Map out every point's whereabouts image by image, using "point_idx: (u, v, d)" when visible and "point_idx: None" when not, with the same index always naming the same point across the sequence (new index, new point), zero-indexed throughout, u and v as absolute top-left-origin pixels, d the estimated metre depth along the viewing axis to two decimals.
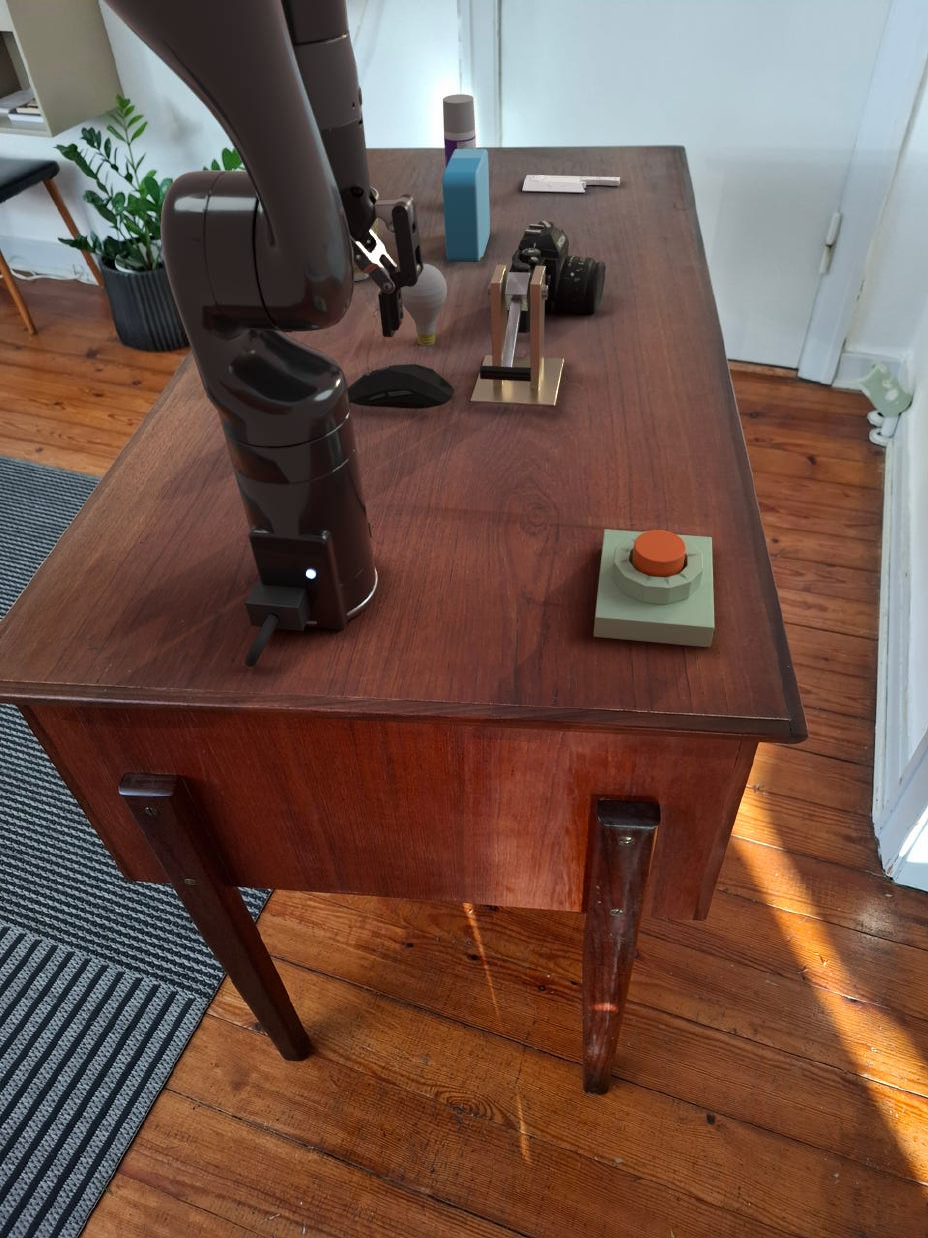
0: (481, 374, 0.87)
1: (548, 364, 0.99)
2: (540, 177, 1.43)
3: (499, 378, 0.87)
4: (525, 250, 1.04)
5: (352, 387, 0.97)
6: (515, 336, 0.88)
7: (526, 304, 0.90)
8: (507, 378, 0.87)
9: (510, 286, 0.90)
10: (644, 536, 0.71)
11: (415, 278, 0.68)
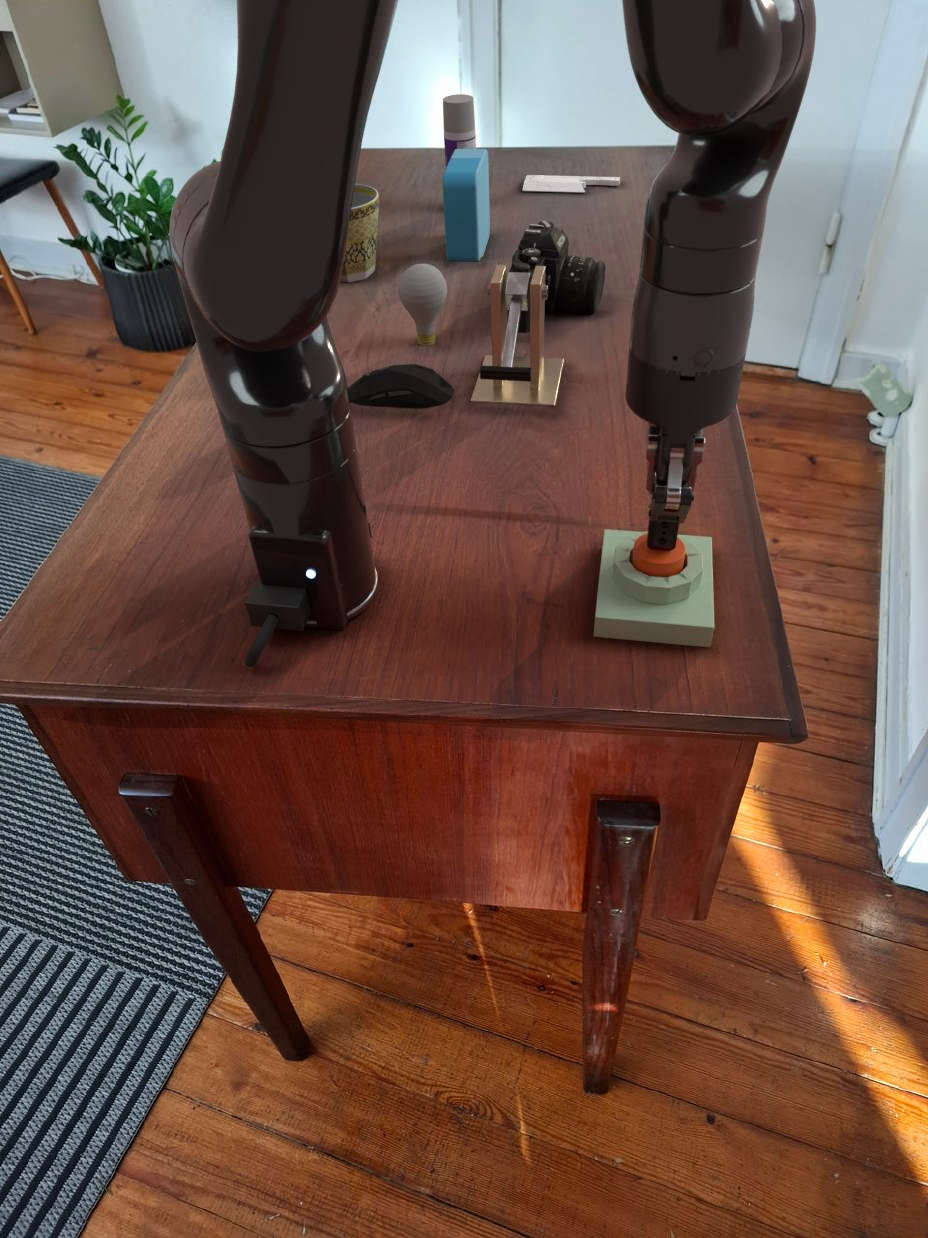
0: (481, 374, 0.87)
1: (548, 364, 0.99)
2: (540, 177, 1.43)
3: (499, 378, 0.87)
4: (525, 250, 1.04)
5: (352, 387, 0.97)
6: (515, 336, 0.88)
7: (526, 304, 0.90)
8: (507, 378, 0.87)
9: (510, 286, 0.90)
10: (644, 538, 0.71)
11: (650, 516, 0.65)
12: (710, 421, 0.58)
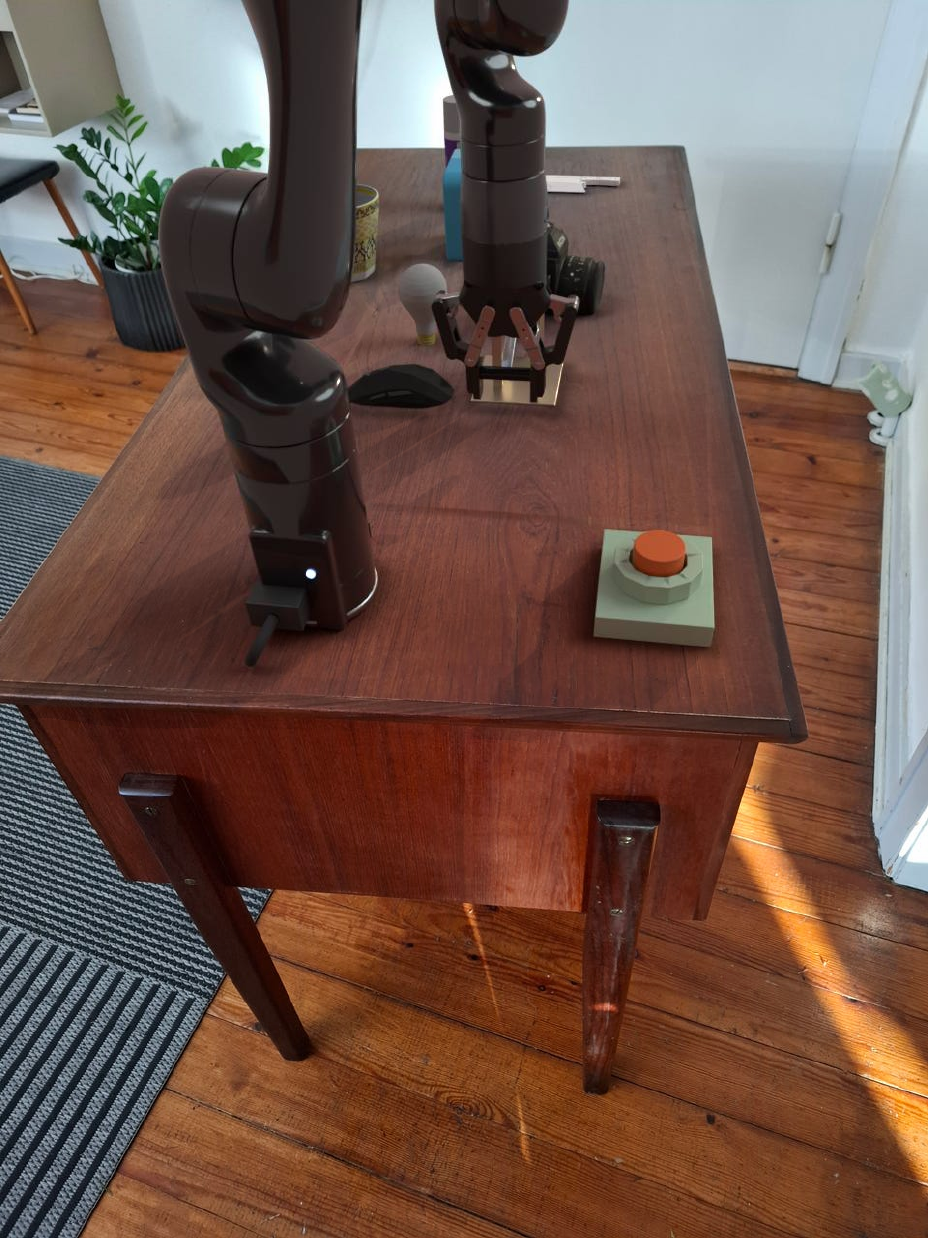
0: (481, 374, 0.87)
1: None
2: None
3: (499, 378, 0.87)
4: None
5: (352, 387, 0.97)
6: None
7: None
8: (507, 378, 0.87)
9: None
10: (644, 536, 0.71)
11: (562, 358, 0.84)
12: None
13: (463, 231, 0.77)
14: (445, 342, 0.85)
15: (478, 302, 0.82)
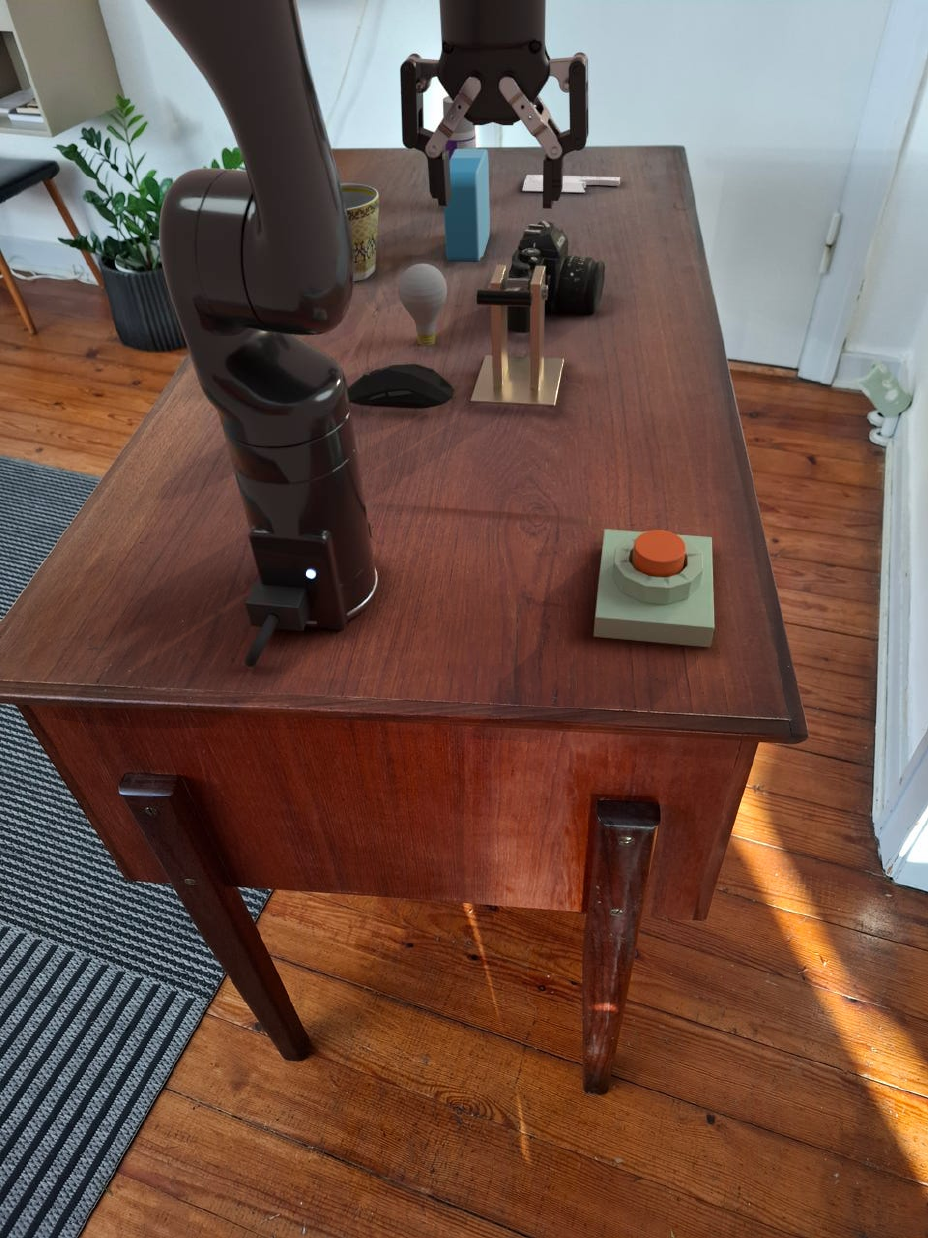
0: (478, 293, 0.82)
1: (548, 364, 0.99)
2: (540, 177, 1.43)
3: (497, 297, 0.81)
4: (525, 250, 1.04)
5: (352, 387, 0.97)
6: (515, 290, 0.85)
7: None
8: (506, 297, 0.81)
9: None
10: (644, 536, 0.71)
11: (584, 141, 0.67)
12: None
13: None
14: (406, 121, 0.68)
15: (460, 74, 0.66)
